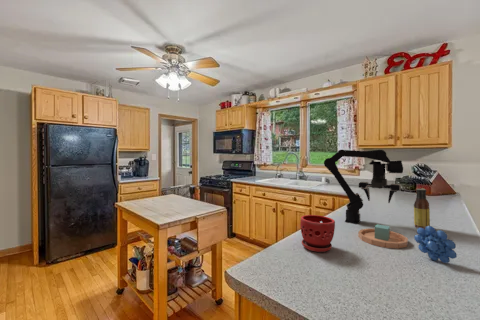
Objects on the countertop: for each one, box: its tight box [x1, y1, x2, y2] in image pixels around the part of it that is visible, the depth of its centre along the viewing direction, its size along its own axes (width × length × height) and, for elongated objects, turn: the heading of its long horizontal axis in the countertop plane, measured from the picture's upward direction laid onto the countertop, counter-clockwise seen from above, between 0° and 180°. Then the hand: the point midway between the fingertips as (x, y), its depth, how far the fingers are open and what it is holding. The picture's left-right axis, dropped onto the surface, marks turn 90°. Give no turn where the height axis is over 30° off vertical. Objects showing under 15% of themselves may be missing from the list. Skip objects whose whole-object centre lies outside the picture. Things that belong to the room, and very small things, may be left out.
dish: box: [357, 228, 409, 249], centre depth 99 cm, size 18×18×2 cm
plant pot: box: [300, 214, 336, 253], centre depth 91 cm, size 13×13×12 cm
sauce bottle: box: [413, 188, 431, 229], centre depth 115 cm, size 7×6×20 cm
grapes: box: [414, 225, 458, 264], centre depth 79 cm, size 12×7×12 cm, turn 37°
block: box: [374, 224, 391, 241], centre depth 99 cm, size 5×5×5 cm
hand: (378, 201), depth 121 cm, fingers open, 9 cm apart
